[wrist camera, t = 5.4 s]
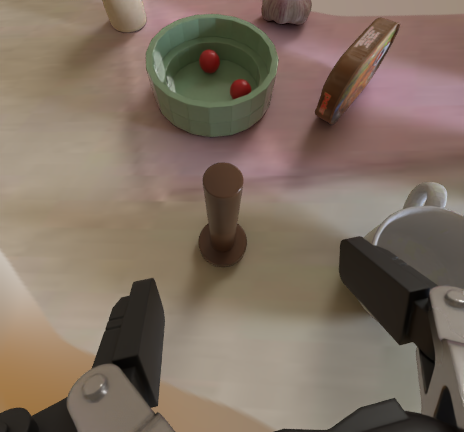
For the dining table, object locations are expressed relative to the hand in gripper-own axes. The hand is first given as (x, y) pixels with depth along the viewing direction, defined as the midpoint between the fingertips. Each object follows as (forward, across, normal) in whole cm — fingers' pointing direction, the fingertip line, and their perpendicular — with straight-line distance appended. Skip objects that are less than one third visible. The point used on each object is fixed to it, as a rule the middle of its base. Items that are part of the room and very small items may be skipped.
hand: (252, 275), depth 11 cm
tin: (+28, -20, -5) cm, 35 cm away
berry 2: (+28, -6, -8) cm, 29 cm away
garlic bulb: (+41, -17, -17) cm, 48 cm away
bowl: (+31, -3, -8) cm, 32 cm away
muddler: (+16, 0, +7) cm, 17 cm away
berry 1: (+32, -3, -12) cm, 34 cm away
